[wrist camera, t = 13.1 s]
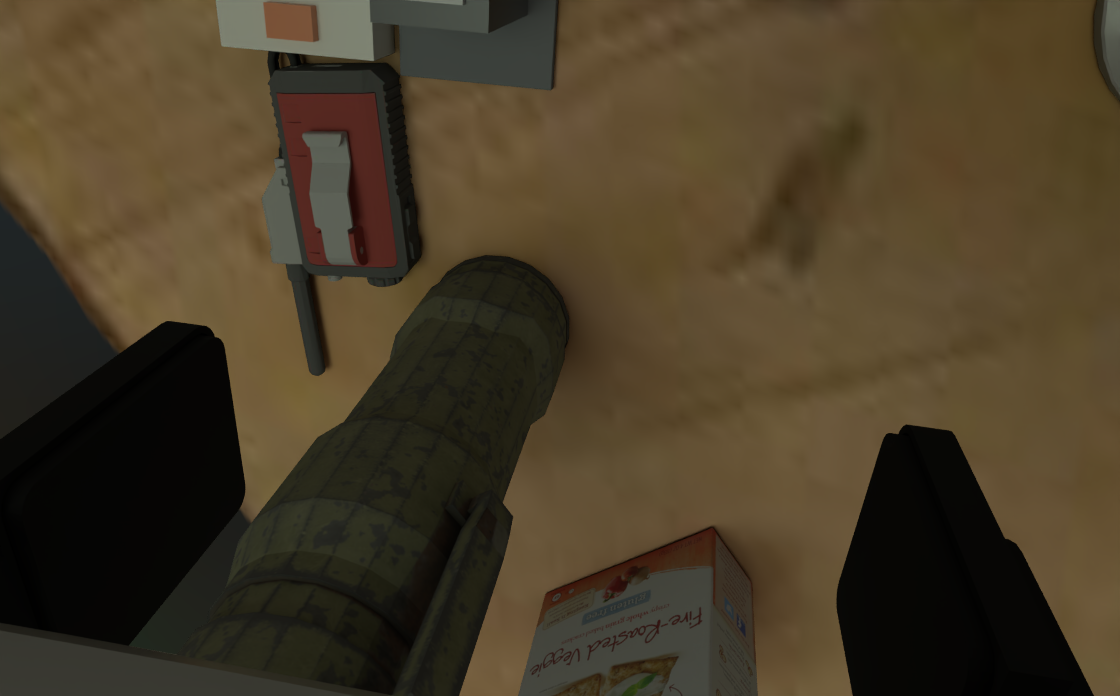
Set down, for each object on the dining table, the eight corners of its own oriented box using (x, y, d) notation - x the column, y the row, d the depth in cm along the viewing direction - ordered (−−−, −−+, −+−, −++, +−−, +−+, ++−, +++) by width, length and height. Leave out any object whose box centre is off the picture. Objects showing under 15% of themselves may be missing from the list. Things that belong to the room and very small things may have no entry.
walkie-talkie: (248, 40, 44) (311, 363, 53) (202, 50, 40) (279, 398, 49) (401, 38, 42) (439, 371, 51) (370, 49, 38) (417, 407, 47)
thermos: (381, 312, 49) (-153, 934, 19) (532, 212, 45) (151, 821, 14) (468, 418, 52) (123, 1116, 21) (619, 334, 47) (455, 1070, 17)
